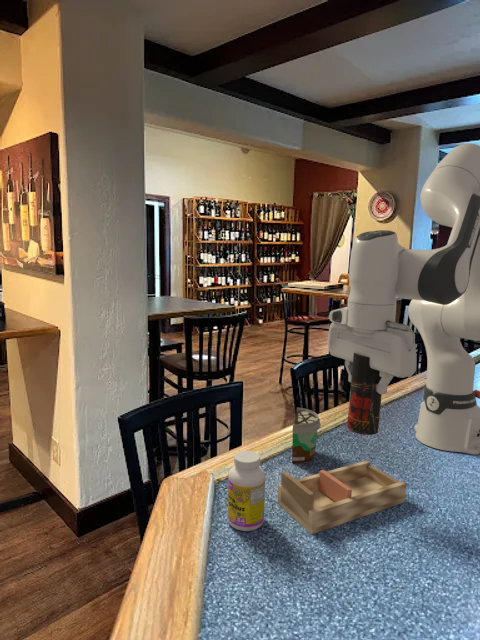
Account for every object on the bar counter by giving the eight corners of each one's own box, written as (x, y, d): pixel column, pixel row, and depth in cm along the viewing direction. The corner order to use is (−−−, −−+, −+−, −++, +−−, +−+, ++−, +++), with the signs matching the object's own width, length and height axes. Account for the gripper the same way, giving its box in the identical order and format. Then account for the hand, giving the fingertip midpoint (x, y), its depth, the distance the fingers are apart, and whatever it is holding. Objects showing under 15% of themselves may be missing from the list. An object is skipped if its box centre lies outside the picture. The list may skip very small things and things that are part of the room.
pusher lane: (366, 477, 101) (367, 447, 100) (405, 501, 92) (407, 469, 90) (277, 503, 90) (278, 470, 89) (311, 534, 81) (313, 497, 80)
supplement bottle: (220, 519, 85) (221, 453, 83) (249, 507, 89) (250, 445, 87) (242, 537, 80) (243, 468, 78) (271, 524, 84) (273, 458, 81)
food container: (318, 469, 105) (320, 427, 103) (291, 466, 106) (292, 425, 104) (320, 446, 117) (321, 408, 115) (295, 444, 118) (297, 406, 116)
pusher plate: (322, 488, 94) (323, 469, 93) (350, 508, 86) (351, 489, 86) (318, 489, 93) (319, 470, 93) (346, 510, 86) (347, 490, 85)
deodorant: (343, 423, 93) (349, 350, 91) (371, 423, 94) (378, 351, 92) (352, 434, 87) (359, 357, 85) (382, 435, 88) (390, 358, 86)
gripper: (427, 324, 80) (421, 401, 82) (347, 309, 97) (344, 373, 100) (401, 327, 77) (396, 406, 79) (324, 311, 94) (321, 376, 97)
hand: (366, 387), depth 89 cm, fingers closed on deodorant, 6 cm apart
